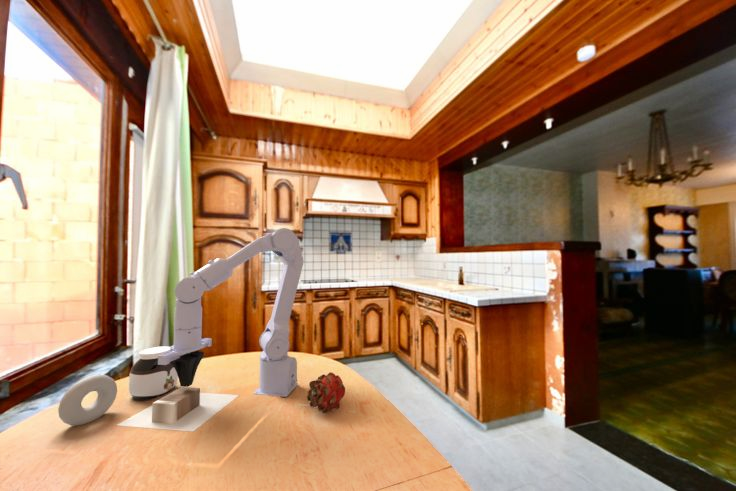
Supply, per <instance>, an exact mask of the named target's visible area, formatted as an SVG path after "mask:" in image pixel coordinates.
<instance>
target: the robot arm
mask: <svg viewBox="0 0 736 491" xmlns="http://www.w3.org/2000/svg"><path fill="white" fill-rule="evenodd" d="M268 252H272V253H274V254H275V255H276V256H278V257H279V259H280V260H281V262H282V263H283V265H284V266H283V268H282V272H281V273H282V274H281V278H280V281H279V284H278V289H277V293H276V297H275V300H274V303H273V306H272V307H273V308H272V312H271V316H270V319H269V321H268V322H267V324H266V327H265V329H264V331H263V332H262V333H261V335H260V337H259V346H260V347H261V349H262V352H261V354H260V356H259V386H258V388H257V389H255V391H253V392H252V394H253V395H258V396H259V395H260V396H275V397H276V396H277V397H278V396H279V397H281V398H286V397H288V396H289V395H291V393H292V392H293V390H294V389H295V388H296V387H297V386H298V385H299V383H298V362H297V358H296V357H294V356H293V357H292V356H290V355H288V352H289V351H290V346H291V345H290V344H291V343H290V341H289V340H290V339H289V336H290V324H289V323H290V319H291V315H292V311H293V307H294V303H295V297H296V295H297V292H298V291H297V290H298V286H299V282H300V279H301V274H302V270H303V266H304V257H303V253H302V250H301V246H300V239H299V237H297V235H296V234H295V233H294V231H293V230H291V229H290V228H286V227H281V228H279V229H277V230H276V231H272V232H270V233H268V234H266V235H264V236H261V237H258V238H256V239H255V240H253V241H251V242H250V243H248V244H247V245H246V246H244V247H243V248H242V247H241V249H240V250H238V251H236V252H235V253H233V254H232V255H231V256H228V258H220V257H218V258H216V259H213V258H211V259H210V260H208V261H207V264H206V265H204V266H203V267H201V268H199V269H198V270H196V271H191V272H189V273H188V274H189V276H190V277H184V278H182V279H181V280H180V281H179V282H178V283H177V284H176V285H175V287H174V295H175V297H176V299H175V302H174V304H175V308H174V315H173V316H174V318H173V319H174V320H173V321H174V322H173V344H172V345H170V346H169V347H170V350H168V351H166V352H165V353H163V354H161V355H159V356H158V365H167V364H169V362H171V364H172V365H173V367H174V368H175V370H176V372H177V375H178V381H179V386H180V387H190V386H191V385H193V383H194V380H195V376H196V372H197V370H198V367H199V365H200V363H201V361H202V360H203V358H204V355H205V352H204V351H199V350H201V349H204V348H206V347H212V343H213V342H212V338H211V337H204V338H203V337H202V336H203V335H202V333H203V307H202V297H203V295H204V292H205V291H207V292H209V291H212V289H214V288H215V287H217V286H219V285H220V284H222V283H224V282H225V281H226V280H228V279H229V278H231V277H232V276H233V272H234V269H235V268H237V267H238V266H240V265H242V264H244V263H245V262H247V261H248V260H250V259H252V258H254V257H255V256H256V255H258V254H260V253H268Z"/></svg>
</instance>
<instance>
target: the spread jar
mask: <svg viewBox="0 0 736 491" xmlns="http://www.w3.org/2000/svg"><path fill="white" fill-rule="evenodd" d="M168 350H170V346H168V345H167V346H163V345H162V346H156V347H155V346H154V347H150V348H145V349H143V350H141V351H139V353H138V354H139V355H138V356H139V357H138V358H139V359H138V360H137V361H136V362H135V363H134V364H133V365H132V367H131V368H130V371H129V378H128V379H129V380H128V391H129V392H128V393H129V395H130V396H131V397H132V398H133V399H135V400H138V401H139V400H141V401H146V400H148V401H149V400H153V399H157V398H160V397H162V396H164V395H165V396H166V395H168V394H170V393H171V392H173V391H174V388H175V387H176V386H177V384H178V383H177V382H178V381H179V378H178V375H177V372H176V370H175V368H174V367H173V365H172V364H171V362H169V364H167V365H158V356H159V355H161V354H163V353H165V352H166V351H168Z"/></svg>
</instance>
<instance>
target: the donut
mask: <svg viewBox="0 0 736 491" xmlns="http://www.w3.org/2000/svg"><path fill="white" fill-rule="evenodd" d="M92 392H96V393H97V397H96V399H95V401H94V402H93V403H92V404H90V405H89V406H87V407H86V406H85V407H83V406H82V402H83V400H84V398H86V396H87V395H88V394H89V393H92ZM117 394H118V386H117V383H116V381H115V379H114V378H112V377H110V376H109V375H106V374H105V375H104V374H92V375H89V376H86V377H84V378H82V379H80V380H79V381H77V382H76V383H73V384H72V386H70V387H69V389H67V390H66V392H64V394H63V396H62V398H61V400H60V402H59V404H58V405H59V406H58V408H57V411H58V416H59V418H60V420H61V421H62V422H63V423H64V424H67V425H68V426H83V425H87V424H88V423H91V422H94V421H95V420H98V419H100V418H101V417H102V416H103V415H104V414H106V412H108V411H109V409H110V408H111V406H113V404H114V402H115V400H116V399H117Z"/></svg>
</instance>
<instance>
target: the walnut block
mask: <svg viewBox="0 0 736 491" xmlns="http://www.w3.org/2000/svg"><path fill="white" fill-rule="evenodd" d="M200 393H201V388H200V387H190V386H188V387H184V386H180V387H179V388H177V389H175V390H172V391H171V392H169V393H167V394H165V396H164V395H163V397H161V398H159V399H157V400H156V401H154V402H152V422H156V423H170V424H173V423H174V422H176V421H177V420H179V419H180V418H182V417H183V416H185V415H186V414H187V413H189V412H190V411H192V410H193V409H195V408H196V407H198V406H199V405H200Z"/></svg>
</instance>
